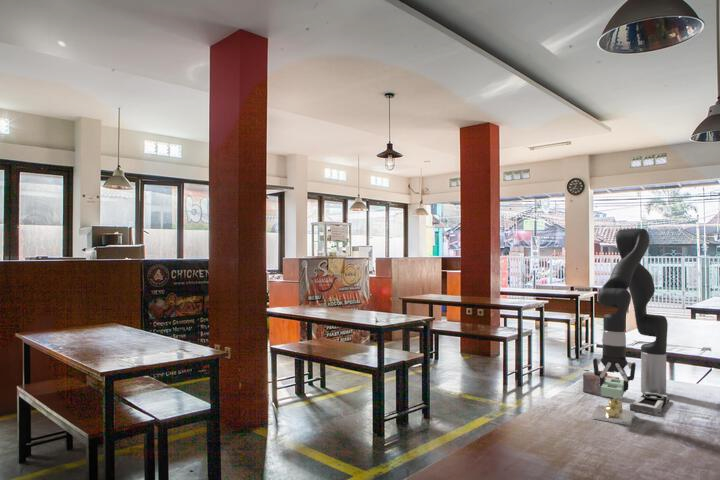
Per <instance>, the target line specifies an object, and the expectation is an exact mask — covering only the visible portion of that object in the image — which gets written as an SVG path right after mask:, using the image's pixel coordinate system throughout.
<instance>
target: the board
mask: <svg viewBox="0 0 720 480" xmlns="http://www.w3.org/2000/svg"><path fill="white" fill-rule="evenodd" d="M623 381H624V379H620V378H619V379H613V378H607V379H606V380H605V382H604V383H603V385H602V386H601V397H605V396H607V397H606V398H609V397H612V398H613V399H614V398H617V399H618V400H619V399H622V398H623V396H624V394H625V392H624V386H623Z"/></svg>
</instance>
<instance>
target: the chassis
mask: <svg viewBox="0 0 720 480" xmlns="http://www.w3.org/2000/svg"><path fill="white" fill-rule="evenodd" d="M635 412H636V411H630V409H629V410H628V409H623V401H621V400H619V399H618V398H613V399H611V398H610V399H609V400H608V405H606V406H604V405H597V407H596V408H595V410H594V412H593V414H592V419H593V420H598V421H603V422H609V423H612V424H613V423H614V424H620V425H624V426H632V425H633V420H634V419H635V416H636V415H635Z"/></svg>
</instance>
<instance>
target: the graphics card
mask: <svg viewBox="0 0 720 480" xmlns="http://www.w3.org/2000/svg"><path fill="white" fill-rule="evenodd" d="M669 403H670V397H669V396H668V395H667V394H666V395H660V394H657V393H650V392H645V393H643V394H642V395H641V396H639V398H638V399H637V400H635V401H634V402H633V403H630V404H629V411H635V412H636V413H641V414H646V415H652V416H655V417H659V418H660V417H661V416H662V415H661V413H662V412H663V410H664V409H665V408H666V406H667V405H668V404H669Z"/></svg>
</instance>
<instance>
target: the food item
mask: <svg viewBox="0 0 720 480" xmlns="http://www.w3.org/2000/svg"><path fill="white" fill-rule="evenodd" d="M602 371H603V370H599V372H600V373H602ZM604 377H605V380H606V379H607V378H613V379H620V377H616V376H612V375H609V374H608V372H606V374H605V375H604ZM582 381H583V382H582V387H583V388H582V391H583V393H587V394H590V395H591V394H593V395H595V396H597V397H600V396H601V386H600V377H599V376H596V375H595V374H594V371H585V372H584V373H582ZM601 397H602V396H601ZM604 397H605V398H610V399H611V398H613V397H607V396H604Z"/></svg>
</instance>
